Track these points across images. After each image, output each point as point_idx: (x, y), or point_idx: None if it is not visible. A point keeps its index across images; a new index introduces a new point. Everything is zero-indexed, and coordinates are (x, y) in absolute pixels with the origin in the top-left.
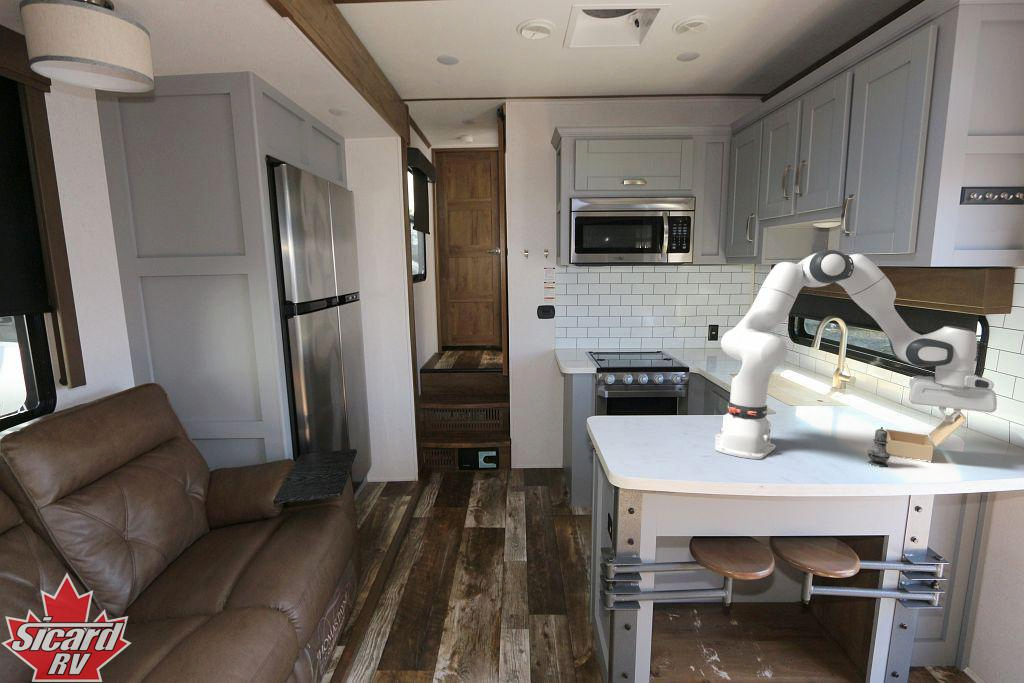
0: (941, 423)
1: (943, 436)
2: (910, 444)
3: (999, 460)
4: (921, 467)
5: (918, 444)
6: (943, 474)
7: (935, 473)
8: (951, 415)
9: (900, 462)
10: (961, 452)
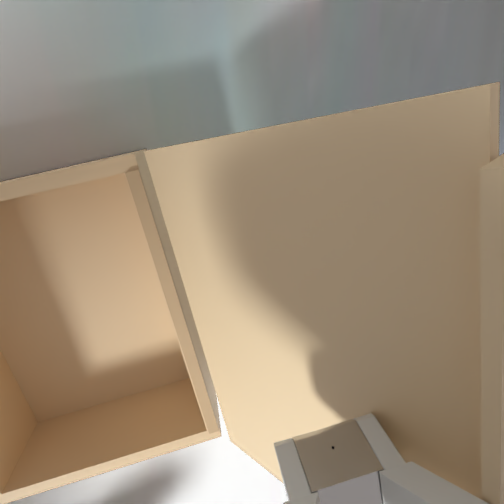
0: (233, 151)
1: (273, 448)
2: (111, 466)
3: (474, 42)
4: (193, 468)
5: (148, 449)
6: (268, 479)
7: (244, 491)
8: (380, 476)
9: (114, 477)
10: (316, 24)
